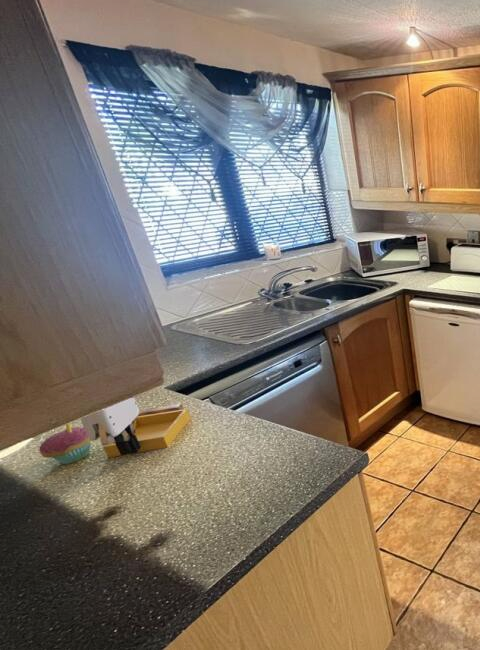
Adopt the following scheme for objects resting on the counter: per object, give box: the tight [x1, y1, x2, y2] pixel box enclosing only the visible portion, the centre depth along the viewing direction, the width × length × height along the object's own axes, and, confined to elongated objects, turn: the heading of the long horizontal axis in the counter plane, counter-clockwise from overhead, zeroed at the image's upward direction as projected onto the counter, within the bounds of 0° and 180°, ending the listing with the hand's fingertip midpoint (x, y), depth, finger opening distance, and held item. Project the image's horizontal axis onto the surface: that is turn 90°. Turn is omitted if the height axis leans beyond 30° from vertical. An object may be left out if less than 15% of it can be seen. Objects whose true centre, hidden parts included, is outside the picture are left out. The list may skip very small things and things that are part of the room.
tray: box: [102, 408, 192, 458], centre depth 97 cm, size 12×12×3 cm
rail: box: [138, 403, 184, 416], centre depth 104 cm, size 14×2×3 cm, turn 108°
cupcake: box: [38, 423, 92, 465], centre depth 89 cm, size 9×8×12 cm
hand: (131, 451), depth 90 cm, fingers closed
